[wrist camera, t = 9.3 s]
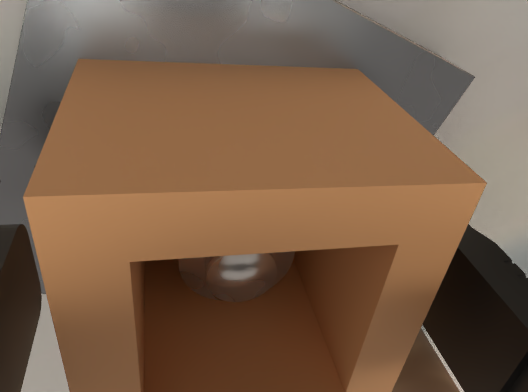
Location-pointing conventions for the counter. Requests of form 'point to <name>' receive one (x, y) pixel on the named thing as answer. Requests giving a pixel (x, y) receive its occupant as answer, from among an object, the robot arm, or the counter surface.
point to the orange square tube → (240, 226)
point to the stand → (424, 370)
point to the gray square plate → (211, 52)
